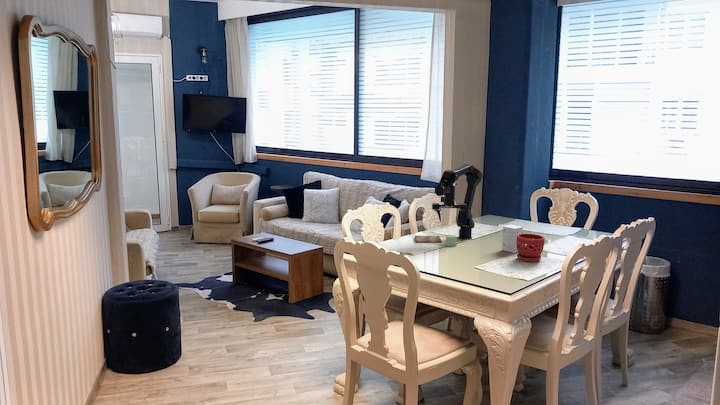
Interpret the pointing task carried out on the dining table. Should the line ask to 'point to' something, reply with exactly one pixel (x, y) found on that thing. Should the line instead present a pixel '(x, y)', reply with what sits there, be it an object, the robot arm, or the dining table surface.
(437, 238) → the walnut board
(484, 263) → the dining table surface
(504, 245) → the small box
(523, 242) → the plant pot
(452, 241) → the green cube
